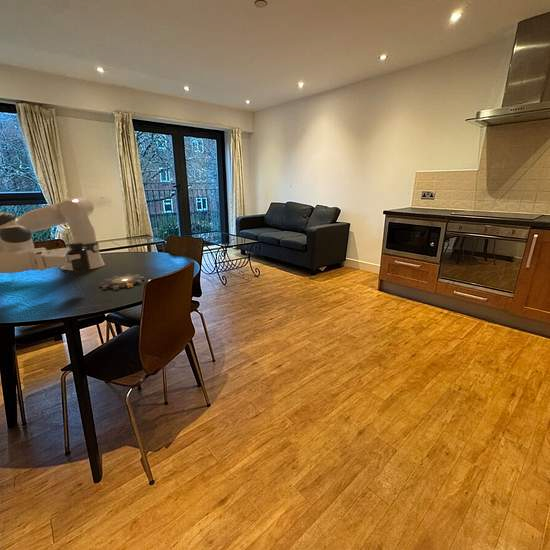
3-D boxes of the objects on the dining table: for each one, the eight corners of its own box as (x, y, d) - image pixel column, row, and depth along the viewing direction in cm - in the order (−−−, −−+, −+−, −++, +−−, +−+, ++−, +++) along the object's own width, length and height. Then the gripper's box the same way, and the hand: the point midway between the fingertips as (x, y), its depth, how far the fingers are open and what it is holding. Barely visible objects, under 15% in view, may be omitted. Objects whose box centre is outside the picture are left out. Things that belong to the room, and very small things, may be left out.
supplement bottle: (94, 268, 134) (89, 242, 130) (81, 272, 128) (75, 245, 124) (82, 267, 136) (77, 241, 132) (69, 271, 129) (62, 244, 126)
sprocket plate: (91, 289, 136) (90, 285, 135) (117, 276, 154) (116, 273, 153) (129, 290, 133) (128, 287, 133) (151, 277, 151) (151, 274, 150)
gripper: (48, 260, 133) (84, 256, 140) (39, 271, 116) (81, 266, 122) (44, 246, 131) (81, 242, 138) (35, 256, 114) (77, 251, 120)
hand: (81, 254), depth 130 cm, fingers closed on supplement bottle, 7 cm apart
